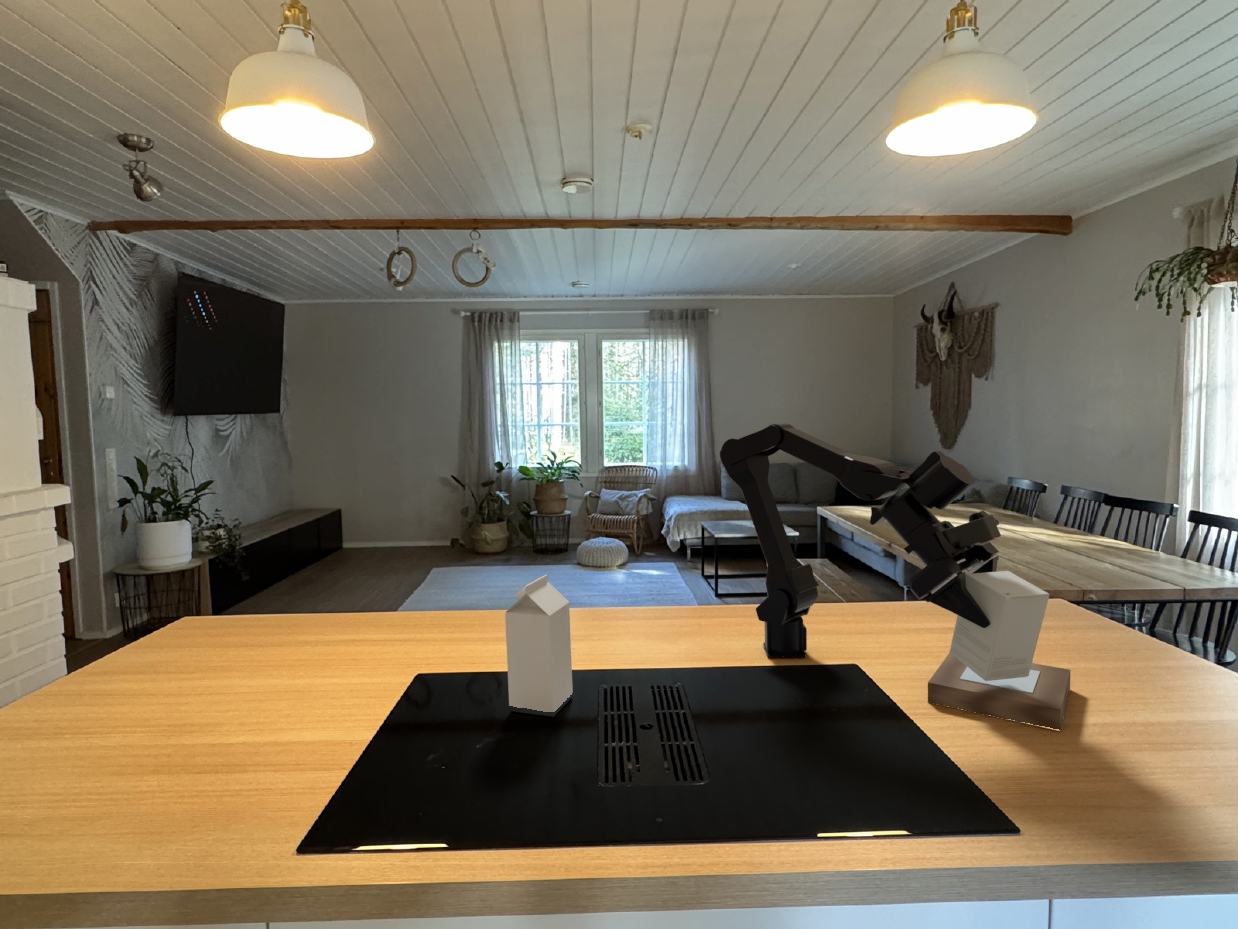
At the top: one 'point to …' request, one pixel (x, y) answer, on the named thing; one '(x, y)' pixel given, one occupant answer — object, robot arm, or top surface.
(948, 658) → the plinth
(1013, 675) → the supplement box
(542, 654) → the milk carton
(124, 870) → the top surface
